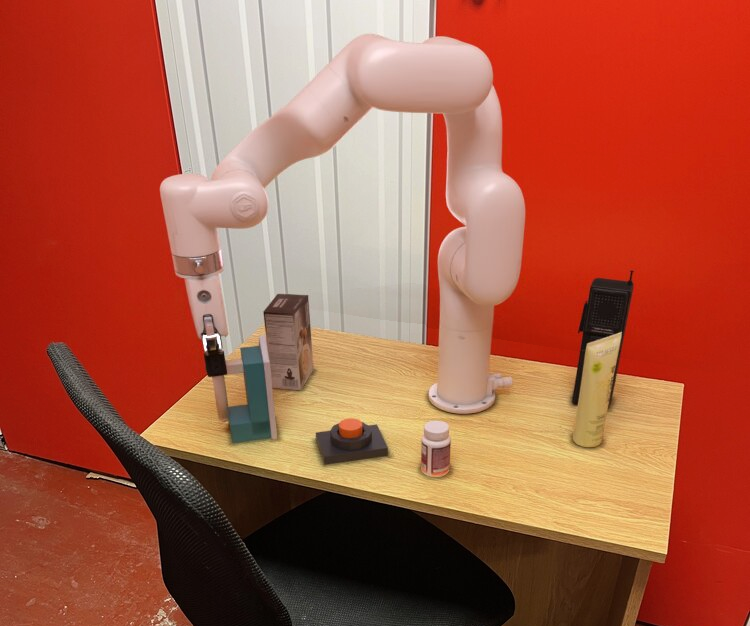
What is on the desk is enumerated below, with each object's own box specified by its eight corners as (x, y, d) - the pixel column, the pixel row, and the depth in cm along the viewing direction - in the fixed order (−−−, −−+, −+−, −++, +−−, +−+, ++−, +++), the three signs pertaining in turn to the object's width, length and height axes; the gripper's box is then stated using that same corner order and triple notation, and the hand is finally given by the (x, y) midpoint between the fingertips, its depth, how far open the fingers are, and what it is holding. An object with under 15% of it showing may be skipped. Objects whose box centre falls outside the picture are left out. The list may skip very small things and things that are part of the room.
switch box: (376, 432, 138) (376, 415, 136) (387, 456, 132) (387, 438, 130) (316, 440, 136) (314, 423, 134) (324, 465, 130) (323, 447, 128)
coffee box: (284, 367, 159) (277, 292, 149) (314, 370, 158) (309, 294, 148) (270, 388, 152) (262, 310, 142) (302, 391, 151) (295, 313, 141)
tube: (600, 452, 132) (620, 346, 120) (569, 447, 133) (586, 342, 122) (602, 435, 136) (622, 331, 125) (573, 431, 137) (590, 328, 126)
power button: (359, 425, 134) (359, 416, 133) (364, 437, 131) (364, 428, 130) (337, 428, 133) (336, 419, 132) (341, 440, 130) (341, 431, 129)
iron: (262, 325, 132) (199, 332, 130) (267, 344, 126) (202, 351, 124) (272, 418, 143) (214, 425, 141) (277, 439, 137) (217, 447, 135)
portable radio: (565, 404, 145) (585, 273, 130) (571, 389, 150) (591, 262, 135) (608, 411, 143) (633, 279, 128) (613, 396, 147) (637, 267, 132)
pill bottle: (453, 466, 129) (456, 422, 124) (442, 480, 126) (445, 436, 121) (427, 459, 131) (428, 416, 126) (415, 473, 127) (416, 430, 122)
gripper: (227, 278, 113) (243, 382, 123) (218, 241, 127) (233, 338, 137) (175, 284, 112) (195, 389, 122) (172, 246, 126) (190, 343, 136)
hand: (215, 362), depth 130 cm, fingers open, 9 cm apart
